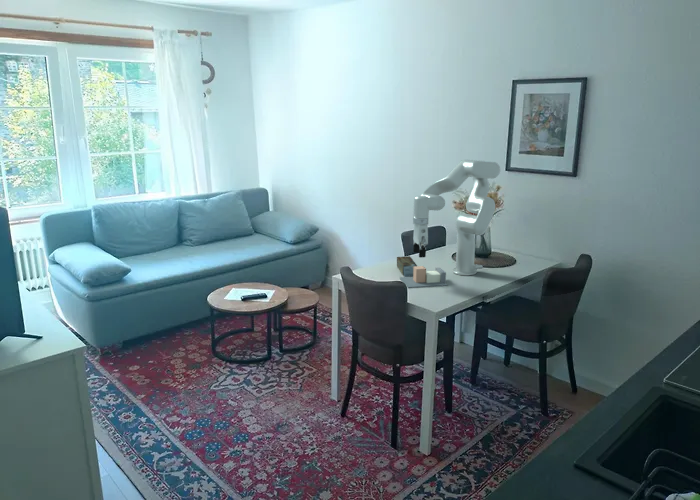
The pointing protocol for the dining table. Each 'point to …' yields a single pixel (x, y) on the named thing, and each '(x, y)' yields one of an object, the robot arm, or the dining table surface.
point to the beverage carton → (406, 265)
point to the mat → (413, 284)
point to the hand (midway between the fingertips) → (419, 254)
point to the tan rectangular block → (419, 274)
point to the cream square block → (436, 276)
